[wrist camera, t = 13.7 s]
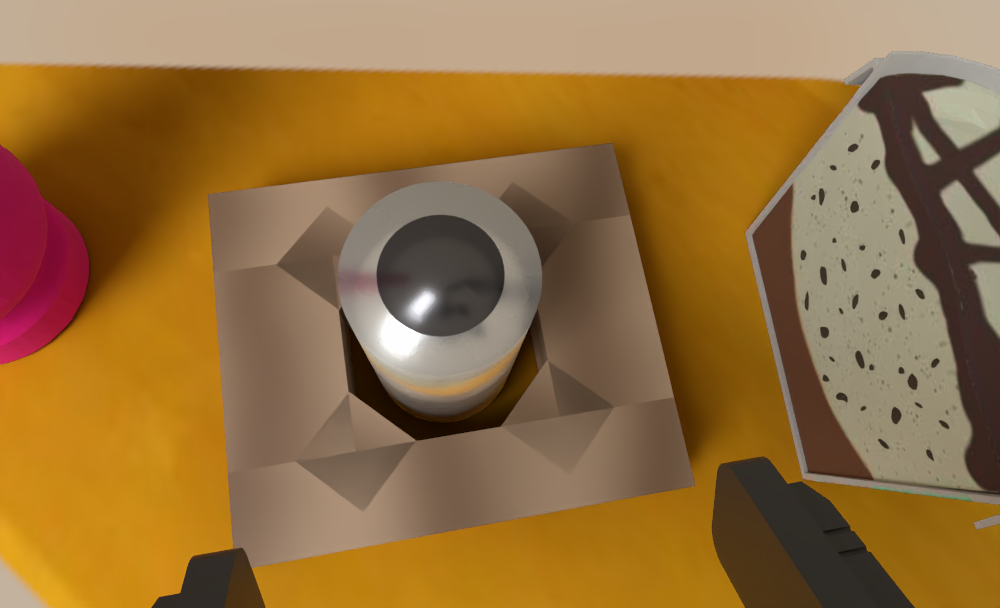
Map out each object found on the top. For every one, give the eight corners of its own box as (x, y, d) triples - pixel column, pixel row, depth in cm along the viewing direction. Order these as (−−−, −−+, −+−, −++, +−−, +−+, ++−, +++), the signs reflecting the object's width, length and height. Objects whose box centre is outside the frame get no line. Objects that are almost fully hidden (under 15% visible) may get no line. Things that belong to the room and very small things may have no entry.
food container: (977, 500, 25) (1300, 494, 16) (813, 523, 25) (1044, 531, 15) (883, 183, 29) (1102, 18, 19) (736, 197, 28) (886, 33, 18)
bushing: (498, 281, 26) (522, 168, 18) (521, 410, 25) (560, 357, 16) (368, 300, 26) (326, 193, 17) (385, 432, 25) (349, 390, 16)
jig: (598, 174, 28) (612, 142, 25) (671, 488, 25) (695, 485, 22) (230, 223, 26) (207, 194, 24) (257, 564, 23) (234, 570, 21)
